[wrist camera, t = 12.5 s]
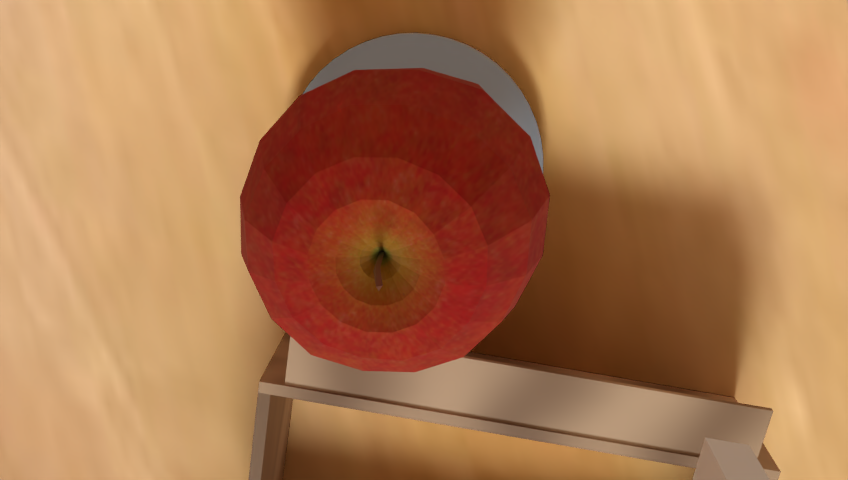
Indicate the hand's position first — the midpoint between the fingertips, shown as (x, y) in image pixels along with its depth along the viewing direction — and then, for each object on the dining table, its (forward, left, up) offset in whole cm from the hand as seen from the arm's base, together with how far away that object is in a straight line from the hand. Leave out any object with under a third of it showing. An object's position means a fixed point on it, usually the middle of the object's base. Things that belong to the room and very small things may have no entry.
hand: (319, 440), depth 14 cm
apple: (0, 0, -22) cm, 22 cm away
